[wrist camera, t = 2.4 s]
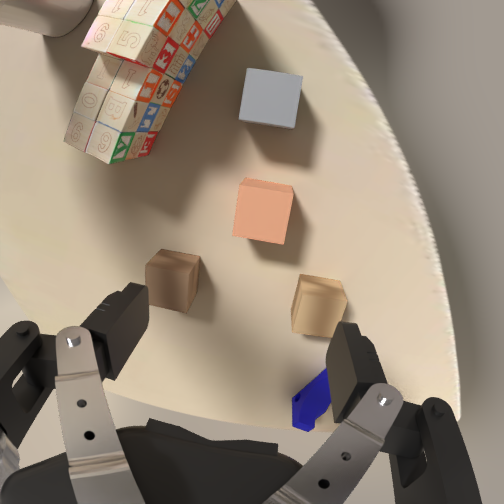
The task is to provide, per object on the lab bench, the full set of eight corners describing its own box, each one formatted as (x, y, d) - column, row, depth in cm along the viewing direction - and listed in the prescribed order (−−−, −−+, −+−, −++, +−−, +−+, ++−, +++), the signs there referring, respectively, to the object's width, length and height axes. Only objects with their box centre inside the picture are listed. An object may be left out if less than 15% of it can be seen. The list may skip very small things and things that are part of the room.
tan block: (160, 284, 38) (145, 303, 33) (161, 248, 36) (145, 265, 31) (197, 291, 37) (186, 313, 33) (200, 255, 36) (188, 274, 31)
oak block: (290, 308, 37) (292, 332, 33) (299, 273, 35) (302, 294, 31) (328, 314, 37) (334, 338, 32) (339, 280, 35) (347, 301, 31)
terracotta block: (239, 221, 34) (232, 235, 29) (245, 177, 32) (239, 184, 27) (283, 229, 33) (283, 244, 29) (291, 185, 32) (293, 193, 27)
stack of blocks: (149, 157, 32) (89, 171, 20) (108, 137, 31) (40, 144, 20) (238, -1, 24) (217, -58, 13) (191, -15, 23) (154, -67, 12)
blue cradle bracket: (313, 406, 44) (315, 434, 38) (292, 397, 43) (292, 426, 38) (364, 362, 40) (372, 391, 34) (342, 350, 39) (349, 380, 34)
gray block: (244, 122, 29) (238, 119, 25) (251, 78, 28) (247, 67, 23) (291, 129, 29) (294, 127, 25) (299, 85, 28) (303, 76, 23)
